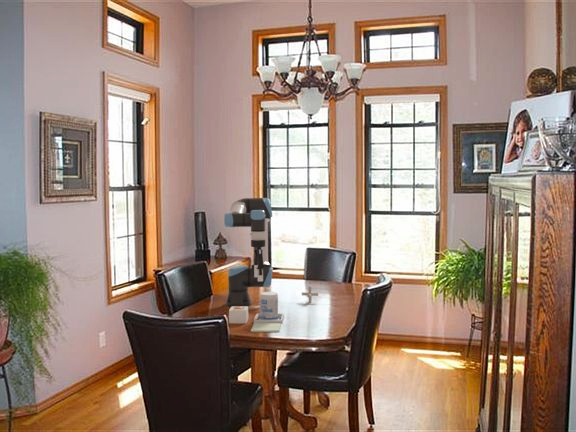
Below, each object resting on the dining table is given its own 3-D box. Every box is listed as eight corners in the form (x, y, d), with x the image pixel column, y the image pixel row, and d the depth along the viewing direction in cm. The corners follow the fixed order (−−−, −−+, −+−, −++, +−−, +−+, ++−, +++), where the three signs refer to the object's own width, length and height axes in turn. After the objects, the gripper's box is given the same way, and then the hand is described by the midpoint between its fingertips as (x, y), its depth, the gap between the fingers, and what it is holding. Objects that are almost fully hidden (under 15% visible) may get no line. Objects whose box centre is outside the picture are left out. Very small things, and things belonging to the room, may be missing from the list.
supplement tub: (259, 322, 301) (259, 295, 300) (260, 318, 310) (260, 291, 309) (278, 322, 301) (277, 295, 300) (278, 318, 310) (278, 291, 309)
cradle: (256, 317, 313) (256, 313, 313) (284, 317, 312) (284, 313, 312) (253, 323, 298) (253, 320, 298) (282, 324, 298) (282, 320, 297)
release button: (235, 315, 307) (235, 306, 306) (243, 315, 306) (243, 306, 306) (233, 317, 302) (233, 308, 302) (242, 317, 302) (242, 308, 301)
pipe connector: (316, 304, 343) (316, 287, 342) (300, 303, 345) (300, 287, 344) (319, 300, 353) (319, 284, 352) (303, 300, 355) (303, 284, 354)
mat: (254, 324, 297) (254, 323, 297) (281, 324, 296) (281, 323, 296) (250, 331, 283) (250, 330, 283) (279, 332, 282) (279, 330, 282)
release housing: (231, 319, 309) (231, 306, 309) (248, 319, 309) (248, 306, 308) (229, 323, 300) (228, 310, 300) (246, 323, 300) (246, 310, 299)
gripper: (248, 237, 314) (248, 275, 315) (254, 241, 289) (254, 283, 290) (261, 236, 315) (262, 275, 316) (268, 241, 290) (269, 282, 292)
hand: (258, 279), depth 303 cm, fingers open, 13 cm apart
